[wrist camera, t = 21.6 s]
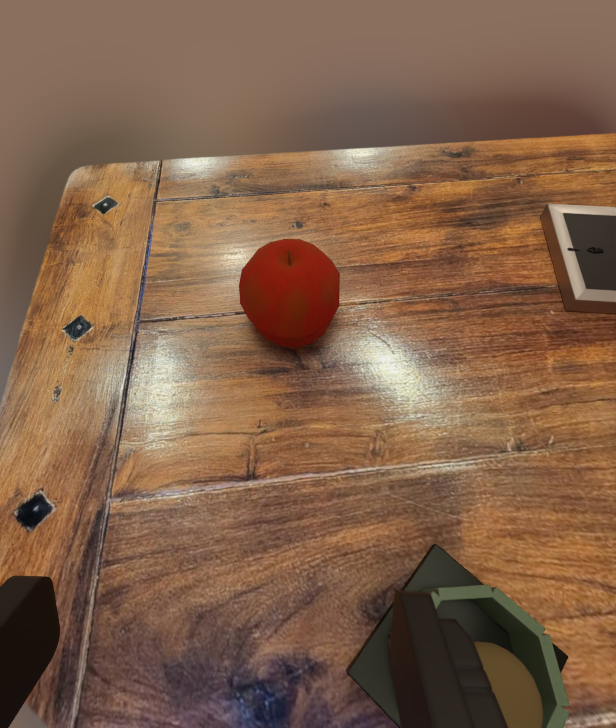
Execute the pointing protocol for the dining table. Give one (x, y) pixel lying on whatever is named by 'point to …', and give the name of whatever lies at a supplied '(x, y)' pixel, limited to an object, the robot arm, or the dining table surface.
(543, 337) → the dining table surface
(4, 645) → the robot arm
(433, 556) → the cup holder
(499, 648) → the cork
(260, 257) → the apple
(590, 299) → the face-down photo frame
